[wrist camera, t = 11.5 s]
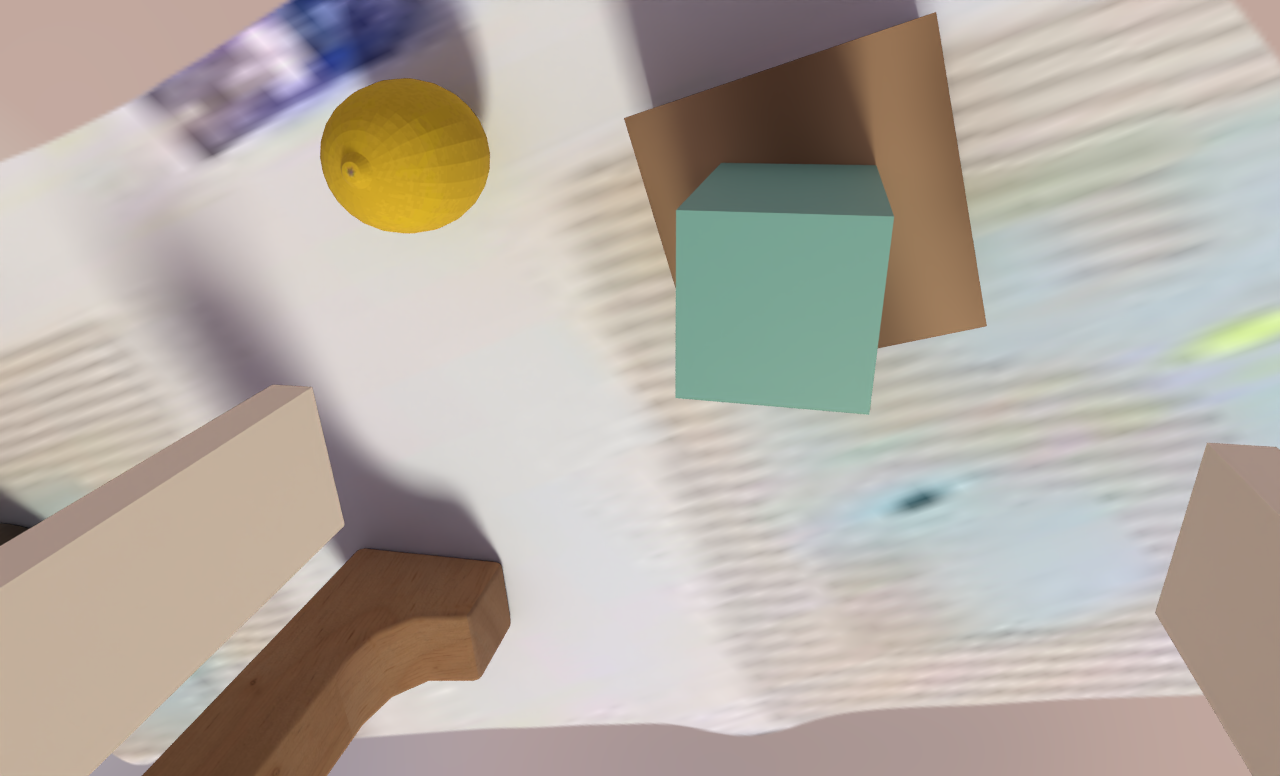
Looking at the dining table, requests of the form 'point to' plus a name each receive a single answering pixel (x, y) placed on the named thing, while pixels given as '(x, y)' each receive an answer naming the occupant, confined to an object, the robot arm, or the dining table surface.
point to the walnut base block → (841, 159)
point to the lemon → (405, 156)
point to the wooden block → (347, 664)
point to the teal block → (782, 285)
